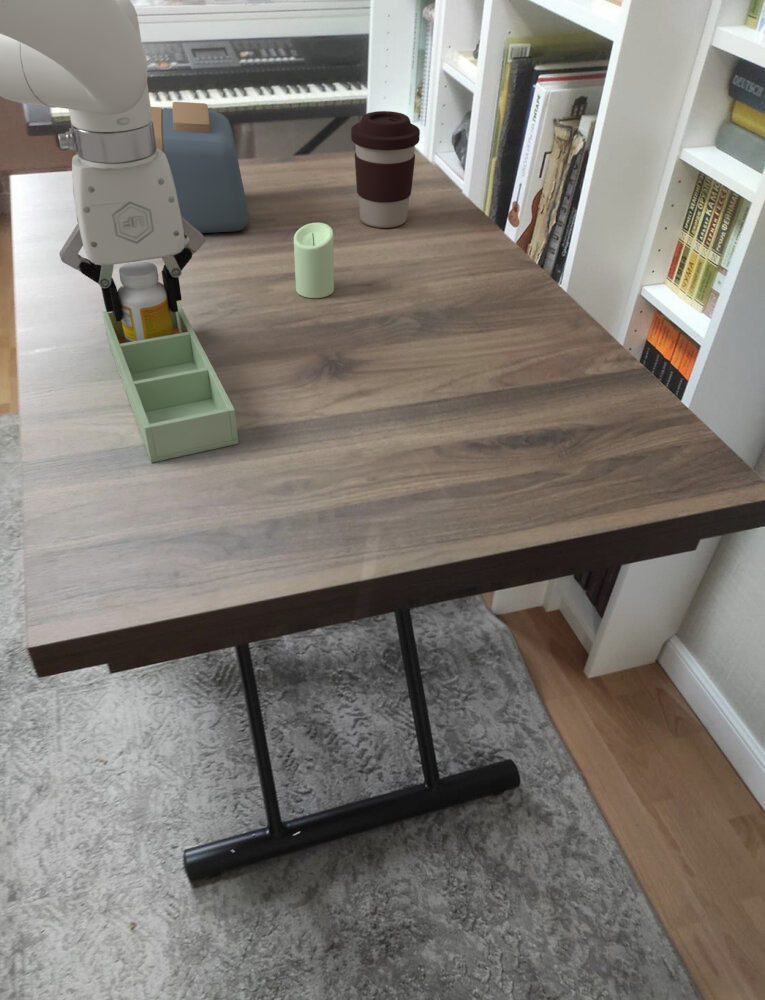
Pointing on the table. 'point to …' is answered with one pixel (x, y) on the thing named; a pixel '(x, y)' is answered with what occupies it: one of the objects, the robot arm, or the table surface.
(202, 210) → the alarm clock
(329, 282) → the candle
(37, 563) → the table surface
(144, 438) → the tray
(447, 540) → the table surface
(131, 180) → the robot arm
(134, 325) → the supplement bottle
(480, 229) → the table surface
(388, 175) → the coffee cup
